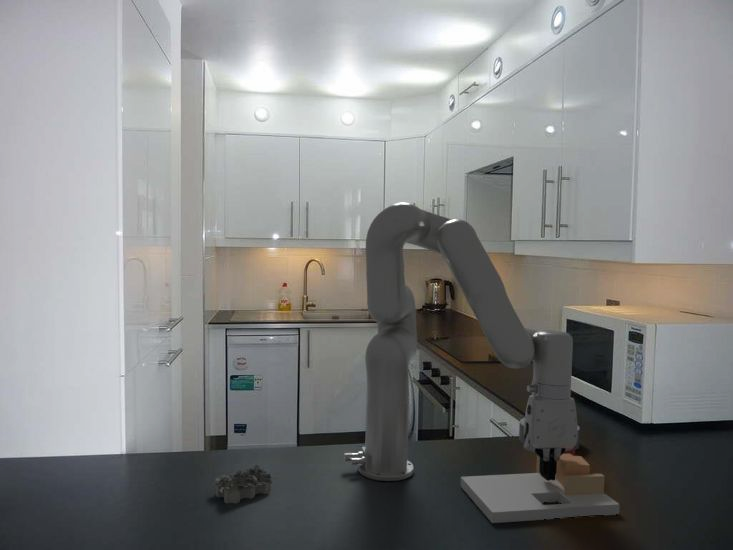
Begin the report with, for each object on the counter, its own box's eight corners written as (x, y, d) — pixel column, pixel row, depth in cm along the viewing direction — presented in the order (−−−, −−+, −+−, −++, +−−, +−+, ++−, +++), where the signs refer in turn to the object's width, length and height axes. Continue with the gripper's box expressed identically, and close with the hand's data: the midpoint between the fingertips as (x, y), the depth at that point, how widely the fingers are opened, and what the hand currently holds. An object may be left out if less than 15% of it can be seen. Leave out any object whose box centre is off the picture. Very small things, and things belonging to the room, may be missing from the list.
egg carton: (227, 508, 101) (227, 486, 101) (210, 493, 107) (210, 473, 107) (276, 492, 108) (276, 472, 108) (258, 480, 114) (258, 461, 114)
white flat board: (492, 523, 98) (493, 493, 98) (458, 483, 115) (459, 458, 115) (619, 514, 103) (620, 486, 103) (568, 477, 120) (569, 453, 120)
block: (564, 488, 109) (565, 464, 109) (556, 478, 114) (557, 455, 114) (588, 489, 109) (590, 465, 109) (579, 479, 114) (580, 456, 114)
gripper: (526, 395, 106) (522, 487, 107) (594, 394, 109) (590, 483, 110) (509, 386, 114) (506, 472, 114) (573, 385, 116) (570, 469, 117)
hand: (547, 477), depth 112 cm, fingers closed
